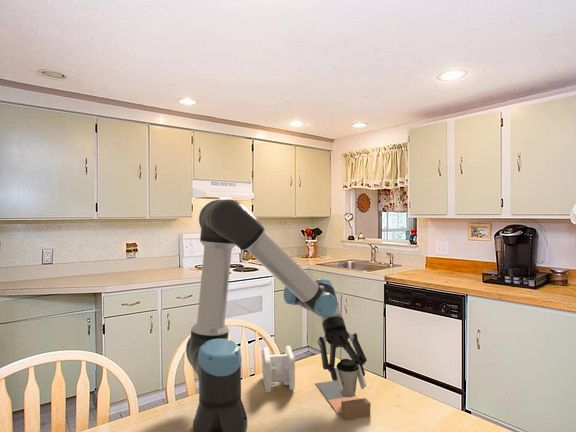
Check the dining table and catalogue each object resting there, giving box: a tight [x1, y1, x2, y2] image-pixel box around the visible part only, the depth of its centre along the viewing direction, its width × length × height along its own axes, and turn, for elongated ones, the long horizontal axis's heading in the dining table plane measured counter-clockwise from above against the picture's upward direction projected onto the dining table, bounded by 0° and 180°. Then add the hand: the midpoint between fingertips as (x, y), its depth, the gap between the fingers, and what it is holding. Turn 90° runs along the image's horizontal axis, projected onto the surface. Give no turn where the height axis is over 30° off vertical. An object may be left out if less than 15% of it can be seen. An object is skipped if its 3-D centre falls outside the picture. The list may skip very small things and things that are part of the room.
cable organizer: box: [261, 345, 296, 393], centre depth 131 cm, size 15×11×12 cm
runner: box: [315, 380, 371, 421], centre depth 122 cm, size 24×10×4 cm, turn 15°
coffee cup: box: [336, 358, 359, 397], centre depth 118 cm, size 7×7×10 cm
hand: (352, 389), depth 114 cm, fingers closed on coffee cup, 7 cm apart
